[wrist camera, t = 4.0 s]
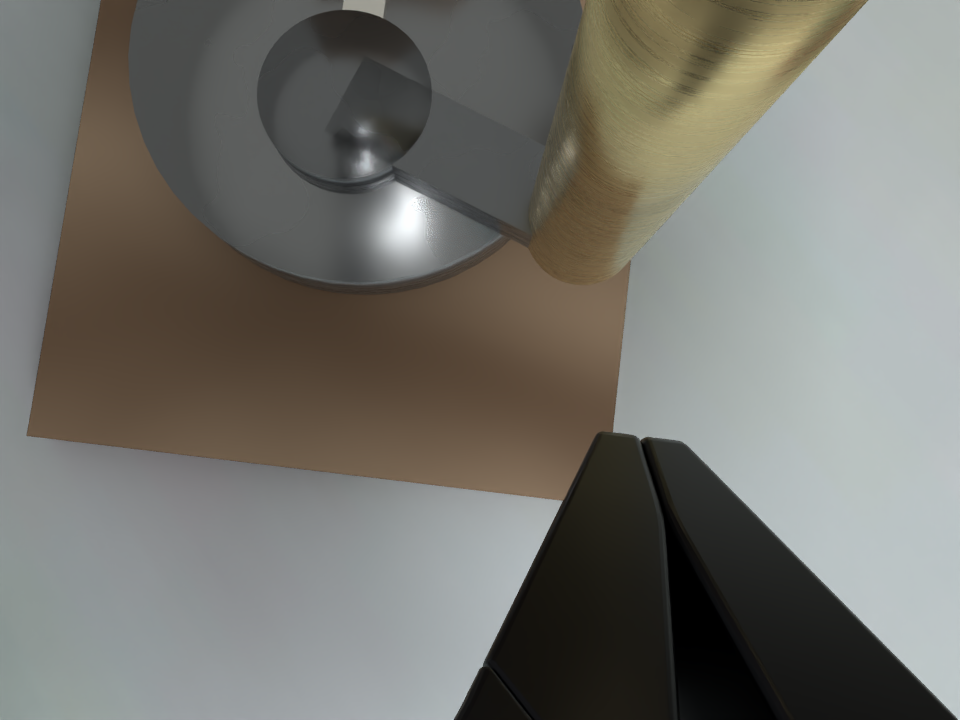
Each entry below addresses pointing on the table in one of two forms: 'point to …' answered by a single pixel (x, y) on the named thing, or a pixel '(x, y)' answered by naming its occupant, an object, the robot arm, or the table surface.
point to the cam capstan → (454, 124)
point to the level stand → (304, 339)
